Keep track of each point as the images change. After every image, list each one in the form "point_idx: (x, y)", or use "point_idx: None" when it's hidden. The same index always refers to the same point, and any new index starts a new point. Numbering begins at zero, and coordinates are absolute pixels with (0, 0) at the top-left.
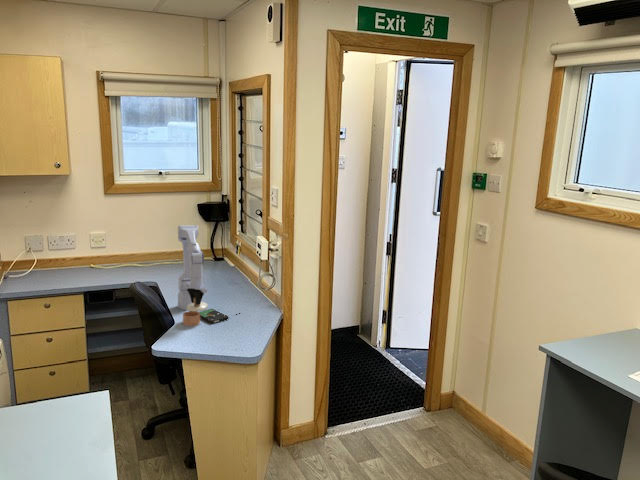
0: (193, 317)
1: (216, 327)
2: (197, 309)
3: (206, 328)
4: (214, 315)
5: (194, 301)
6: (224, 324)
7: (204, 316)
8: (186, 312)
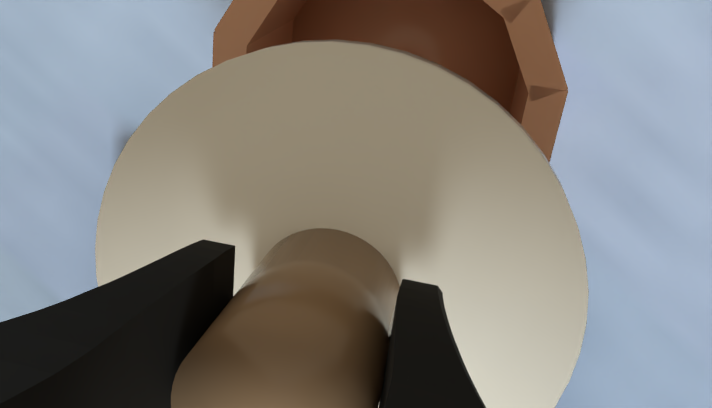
0: (231, 10)
1: (24, 163)
2: (151, 146)
3: (69, 46)
4: None
5: (279, 291)
6: (53, 297)
7: None
8: (534, 101)
